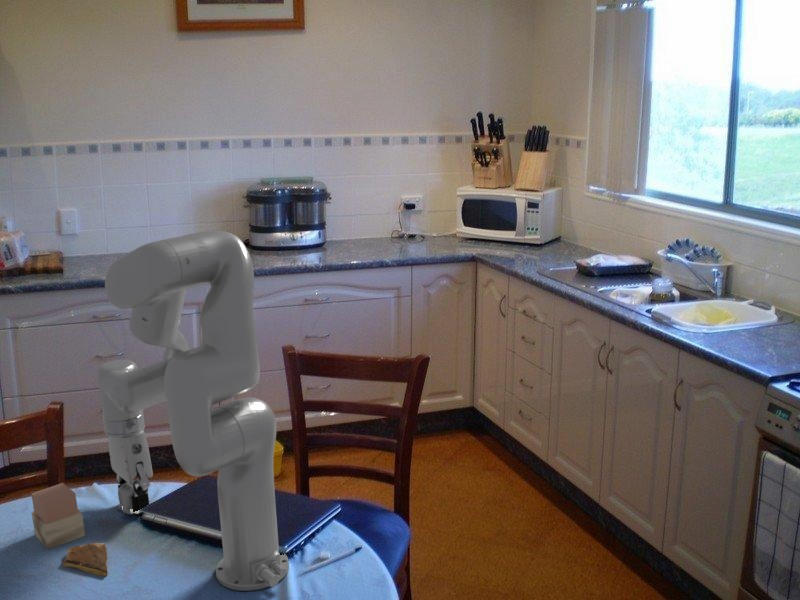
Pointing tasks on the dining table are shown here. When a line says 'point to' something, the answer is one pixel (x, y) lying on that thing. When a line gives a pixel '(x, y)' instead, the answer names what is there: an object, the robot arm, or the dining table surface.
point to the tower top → (54, 503)
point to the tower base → (59, 529)
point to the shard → (88, 558)
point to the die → (126, 496)
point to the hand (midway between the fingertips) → (134, 505)
